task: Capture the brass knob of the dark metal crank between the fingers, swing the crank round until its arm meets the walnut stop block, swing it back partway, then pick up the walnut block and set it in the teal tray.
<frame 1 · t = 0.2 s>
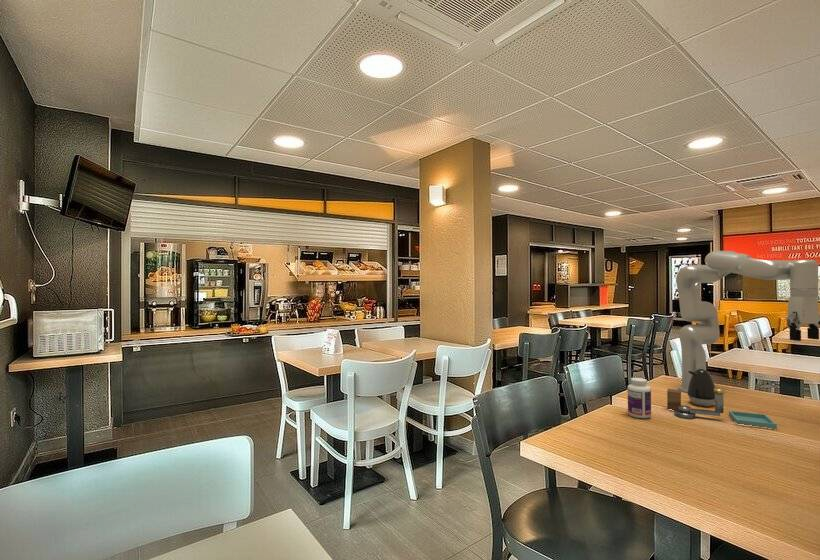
hand: (804, 339, 151), 31 cm above the table, tool pointing down, fingers open, 9 cm apart
crank base: (684, 416, 160), on the table
tray: (751, 423, 152), on the table
stop block: (674, 410, 167), on the table
crank: (701, 400, 157), point 7 cm above the table, hinge at 0.0°
pill bottle: (639, 416, 160), on the table
black tapered rounded piece: (701, 405, 174), on the table
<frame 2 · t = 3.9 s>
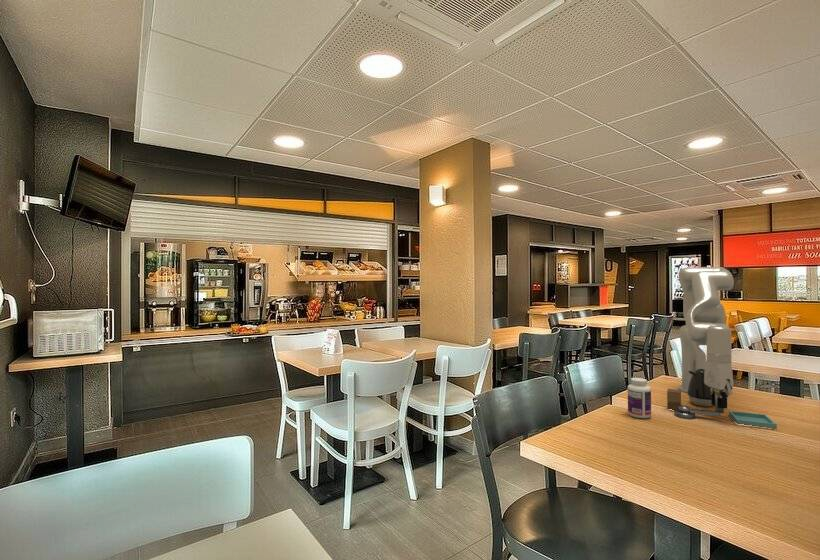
hand: (719, 406, 155), 5 cm above the table, tool pointing down, fingers closed on crank, 2 cm apart
crank: (701, 400, 157), point 7 cm above the table, hinge at 0.0°, touching gripper
everything else where it was.
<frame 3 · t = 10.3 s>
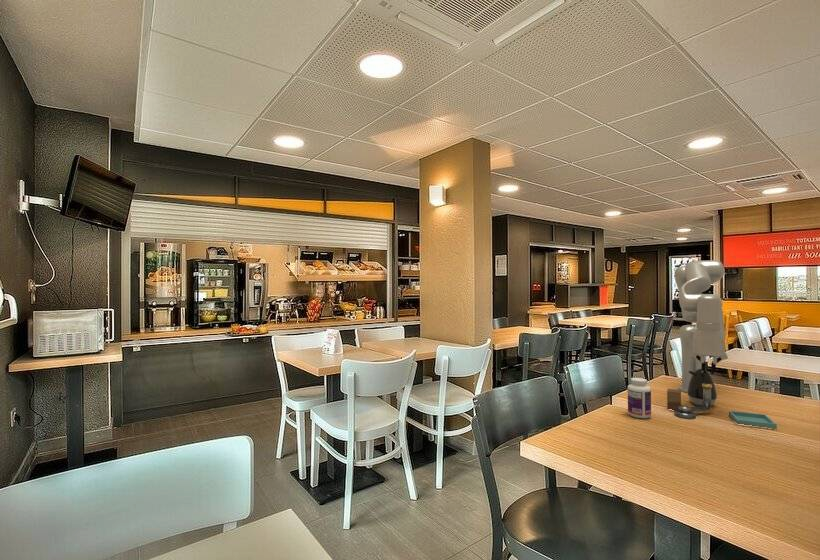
hand: (708, 372, 162), 16 cm above the table, tool pointing down, fingers closed
crank: (695, 397, 161), point 7 cm above the table, hinge at 39.1°
everything else where it was.
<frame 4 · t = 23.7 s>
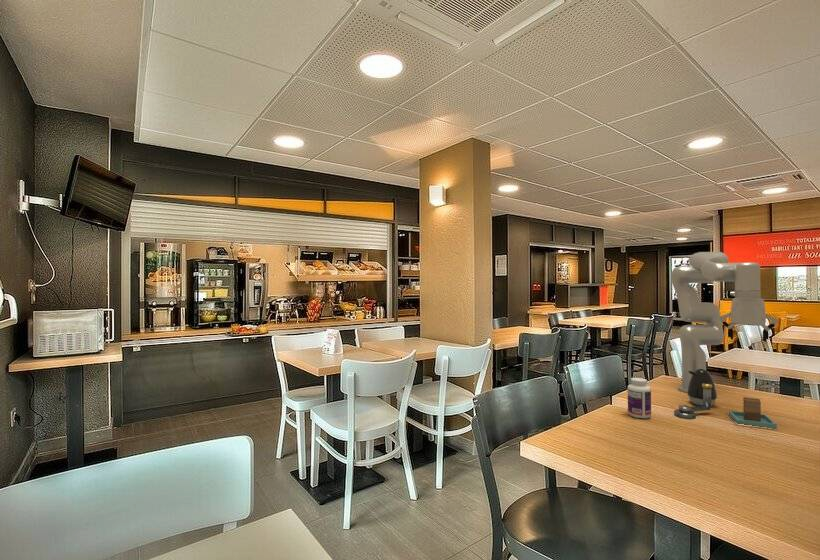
hand: (747, 340, 155), 30 cm above the table, tool pointing down, fingers open, 9 cm apart
stop block: (751, 420, 152), point 1 cm above the table, touching tray
everything else where it was.
at the end: stop block inside the target area on the tray (0.1 cm from its centre), point 0.8 cm above the tray's base; crank at +39° (first picture: +0°); the gripper is holding nothing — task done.
